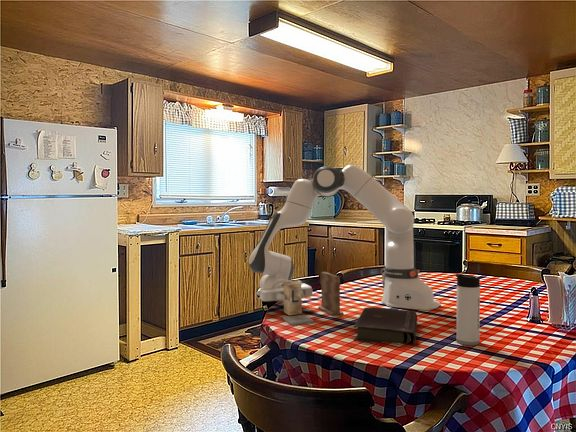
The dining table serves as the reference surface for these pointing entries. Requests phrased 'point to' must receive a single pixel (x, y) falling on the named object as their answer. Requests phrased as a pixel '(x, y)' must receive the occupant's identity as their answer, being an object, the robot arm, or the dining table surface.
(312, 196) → the robot arm
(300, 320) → the slate coaster
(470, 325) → the travel mug
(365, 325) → the diary
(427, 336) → the dining table surface
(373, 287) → the dining table surface
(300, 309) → the tan boxy piece
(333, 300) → the screen
